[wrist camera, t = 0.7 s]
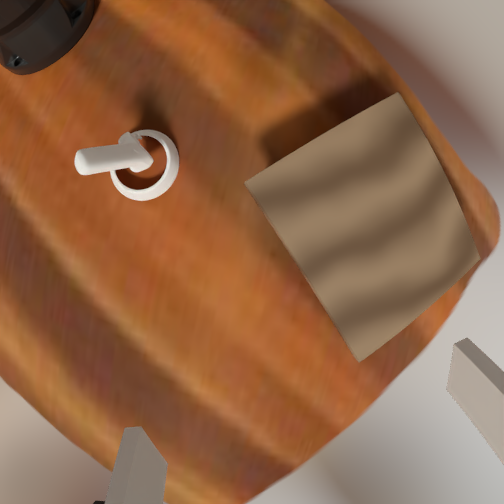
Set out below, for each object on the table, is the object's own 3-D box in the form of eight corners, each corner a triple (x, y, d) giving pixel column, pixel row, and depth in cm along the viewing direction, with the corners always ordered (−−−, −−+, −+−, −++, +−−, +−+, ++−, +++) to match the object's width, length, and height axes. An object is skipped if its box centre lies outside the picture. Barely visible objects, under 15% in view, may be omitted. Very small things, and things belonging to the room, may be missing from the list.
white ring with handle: (43, 180, 26) (59, 122, 22) (130, 160, 35) (155, 114, 31) (76, 237, 25) (97, 179, 21) (165, 204, 35) (196, 158, 31)
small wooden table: (241, 188, 33) (245, 182, 26) (371, 109, 33) (398, 92, 26) (338, 339, 35) (359, 362, 29) (447, 252, 35) (480, 258, 29)
